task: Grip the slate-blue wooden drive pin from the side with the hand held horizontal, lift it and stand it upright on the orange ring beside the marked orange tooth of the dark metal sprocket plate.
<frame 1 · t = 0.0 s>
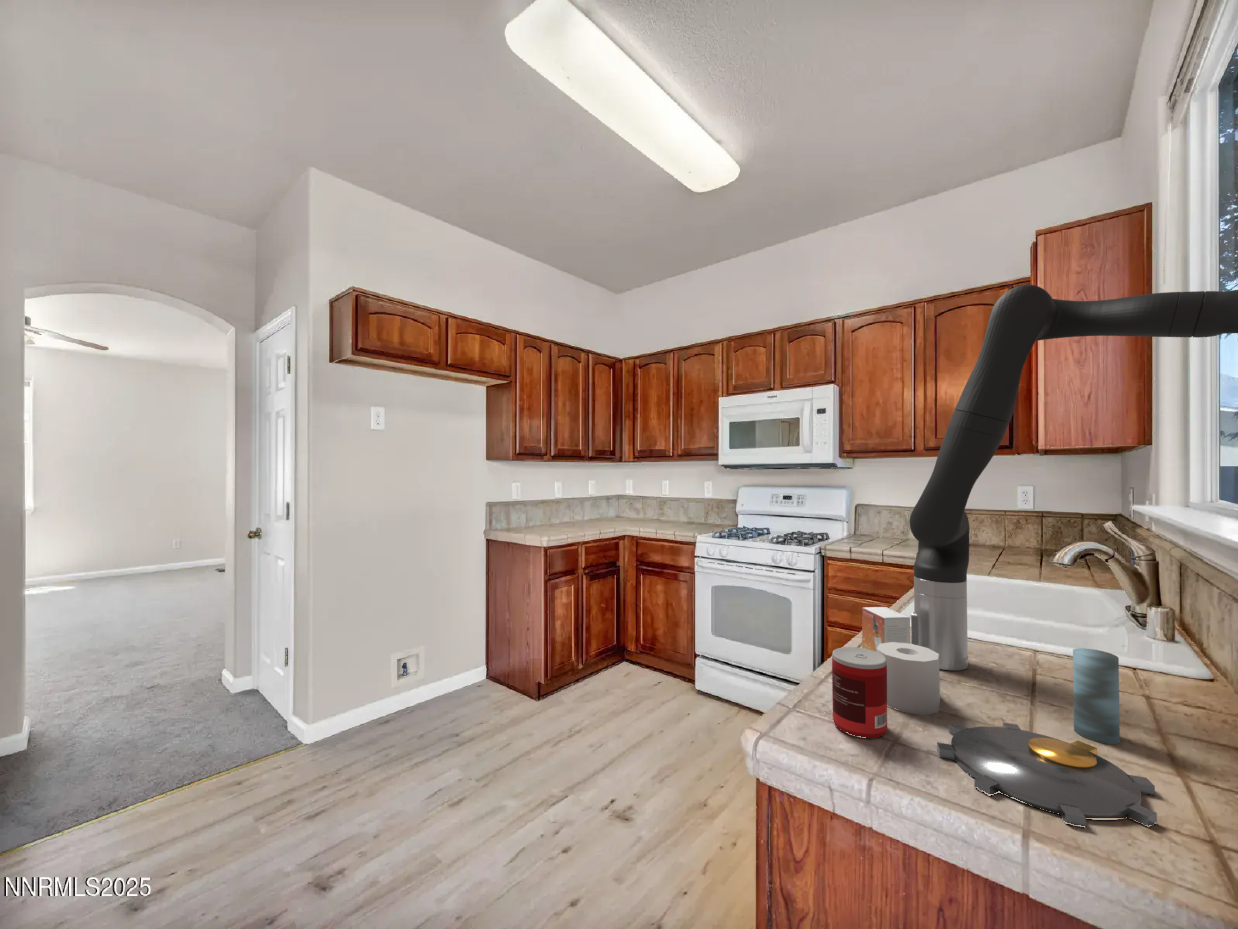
canned food: (859, 728, 79), on the counter
sprocket plate: (1037, 771, 67), on the counter
drive pin: (1096, 735, 77), on the counter
small box: (885, 664, 106), on the counter
toilet tissue: (912, 701, 89), on the counter
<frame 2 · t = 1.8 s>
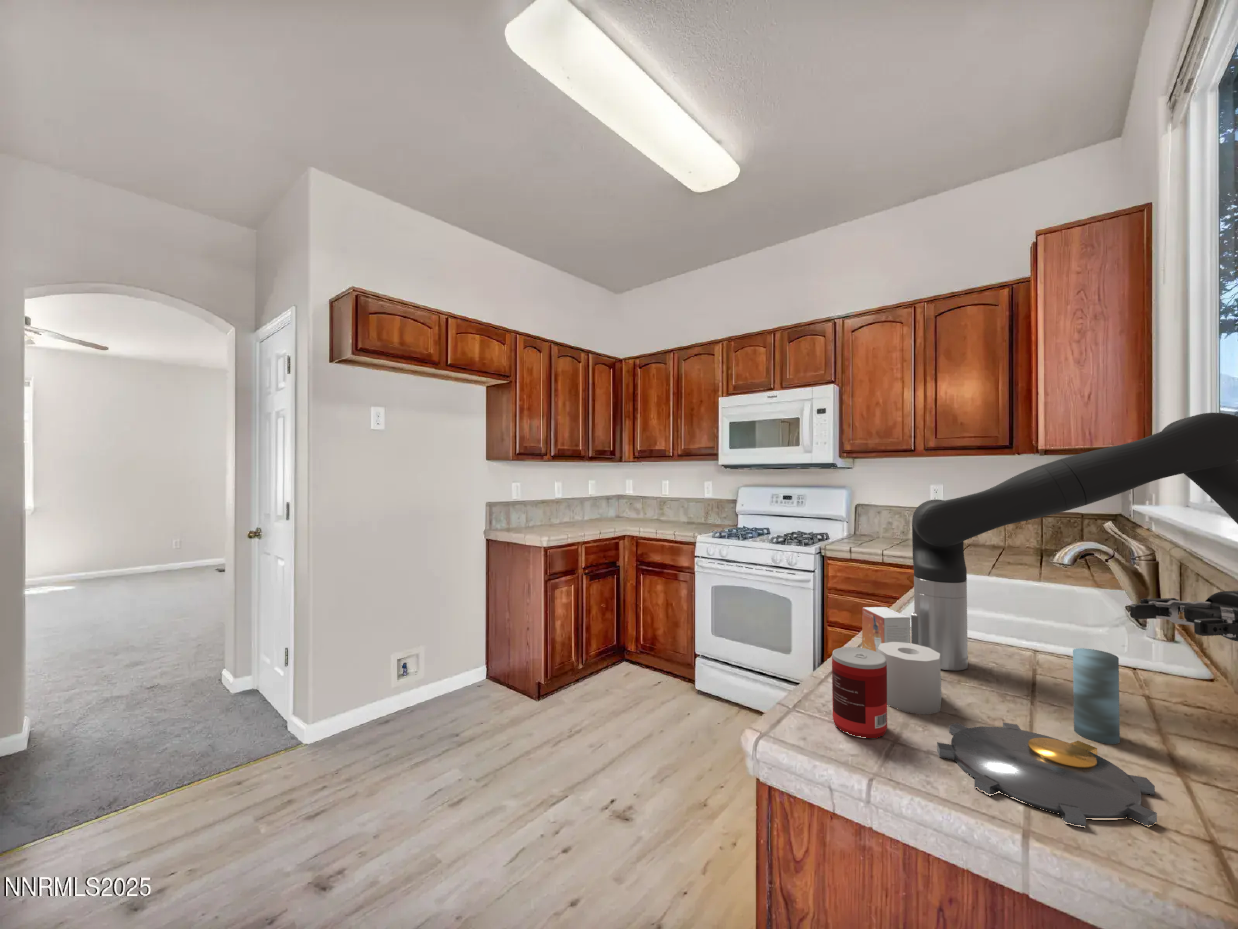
hand: (1163, 619, 78), 17 cm above the counter, tool horizontal, fingers open, 8 cm apart
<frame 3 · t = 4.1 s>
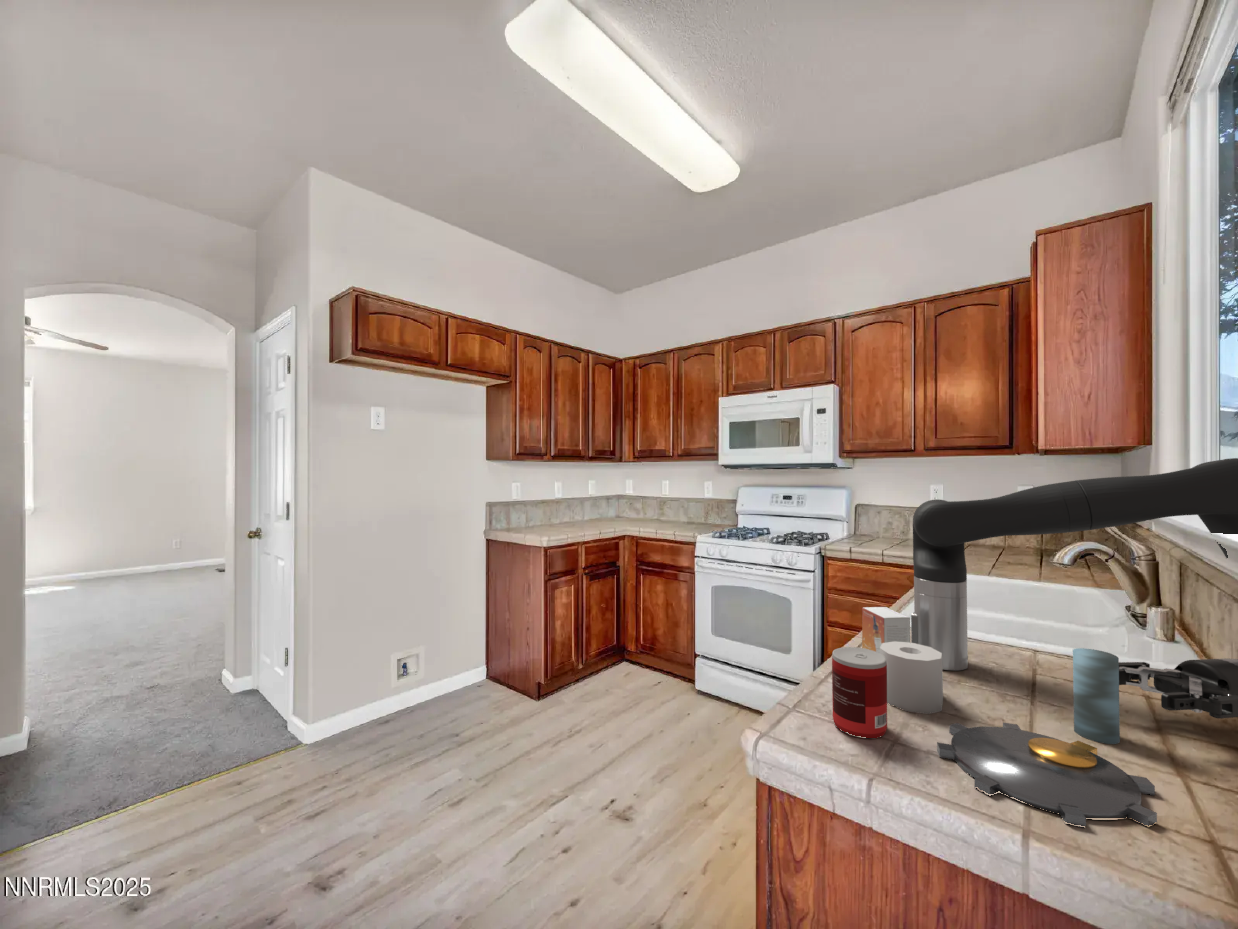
hand: (1131, 689, 77), 6 cm above the counter, tool horizontal, fingers open, 8 cm apart
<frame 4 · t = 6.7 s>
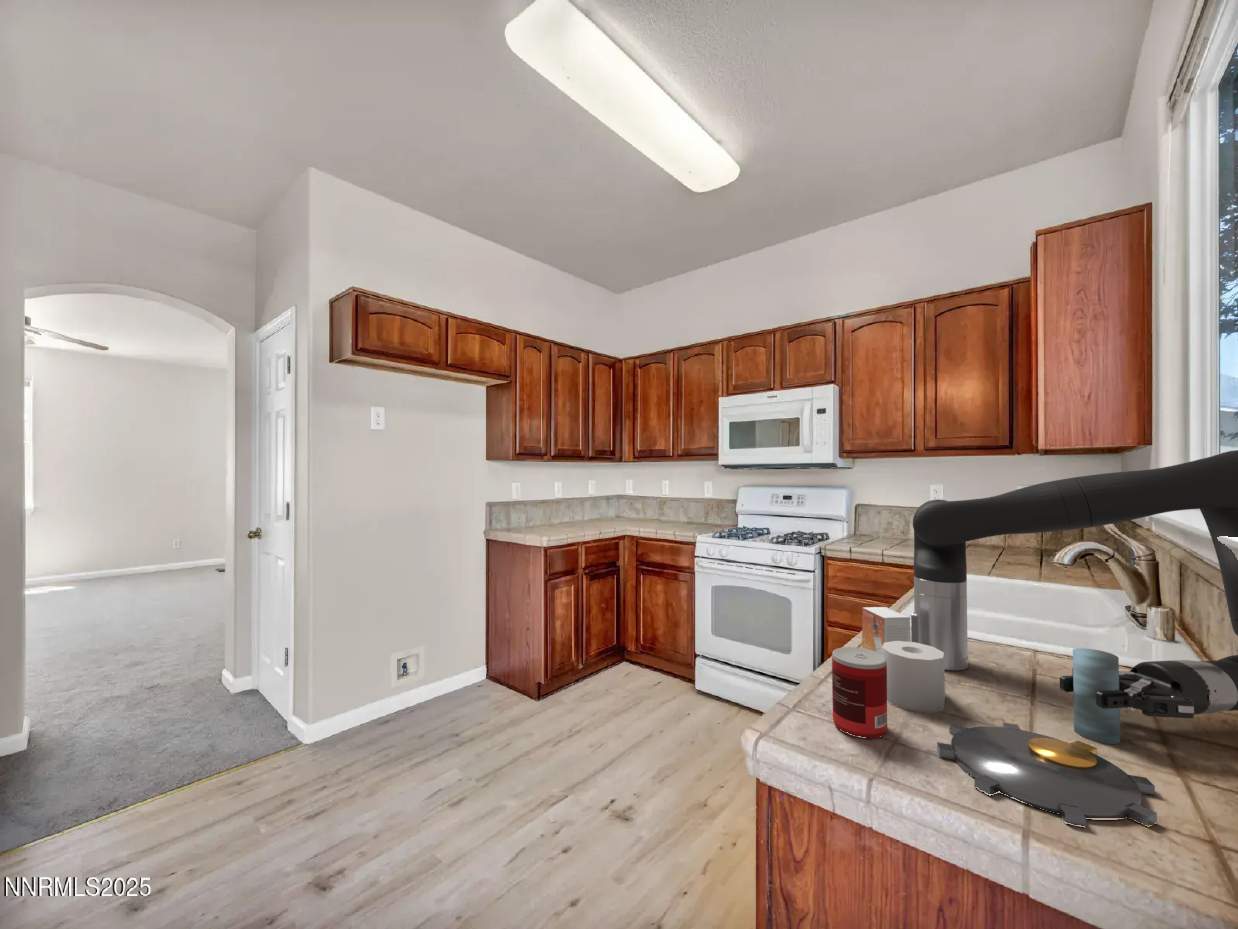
hand: (1080, 691, 76), 7 cm above the counter, tool horizontal, fingers closed on drive pin, 5 cm apart
drive pin: (1096, 735, 77), on the counter, touching gripper
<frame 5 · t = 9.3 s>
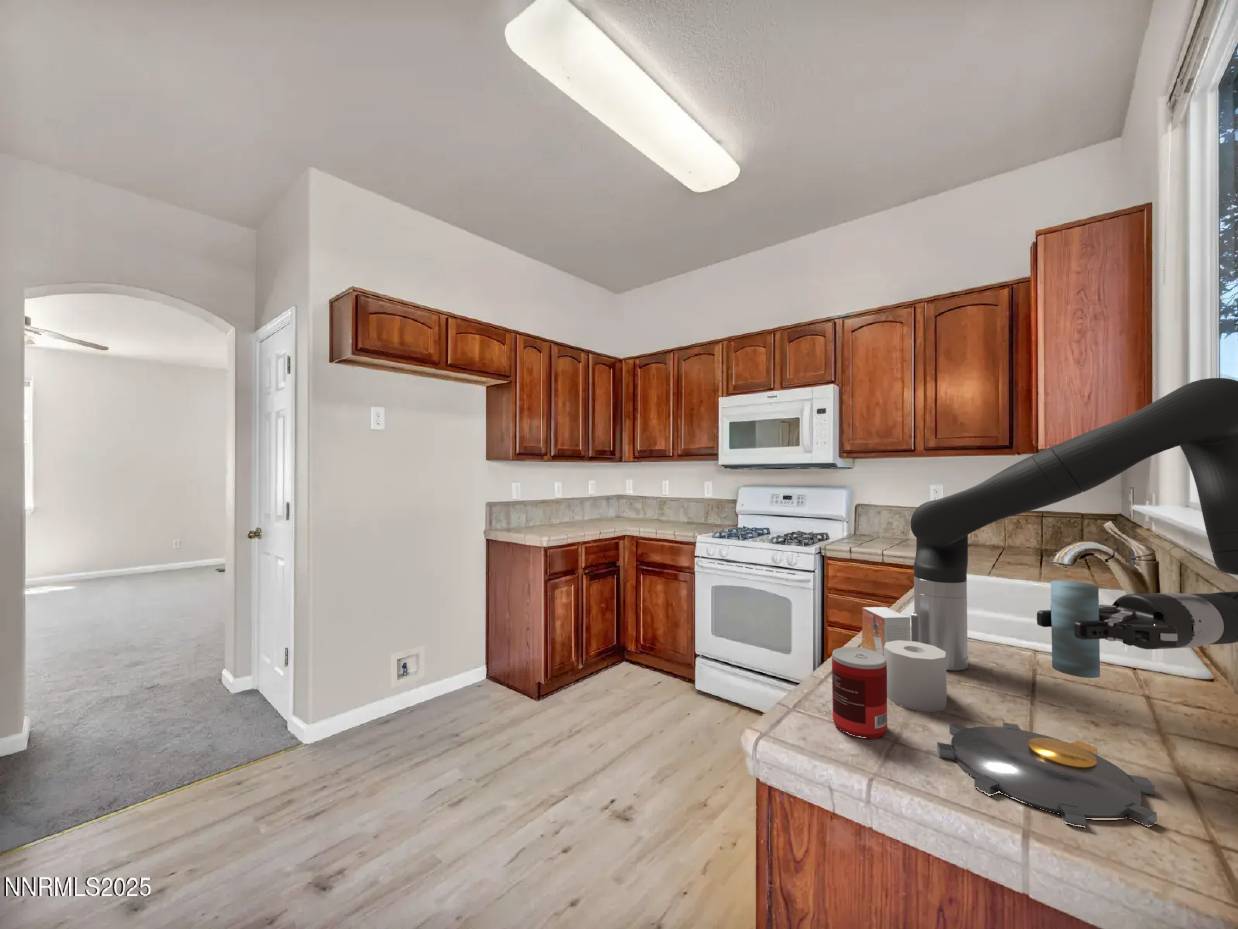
hand: (1058, 624, 72), 18 cm above the counter, tool horizontal, fingers closed on drive pin, 5 cm apart
drive pin: (1075, 670, 72), point 11 cm above the counter, touching gripper
when the fingers open (9 cm above the counter, at t = 12.3 s): drive pin drops 1 cm, resting on sprocket plate.
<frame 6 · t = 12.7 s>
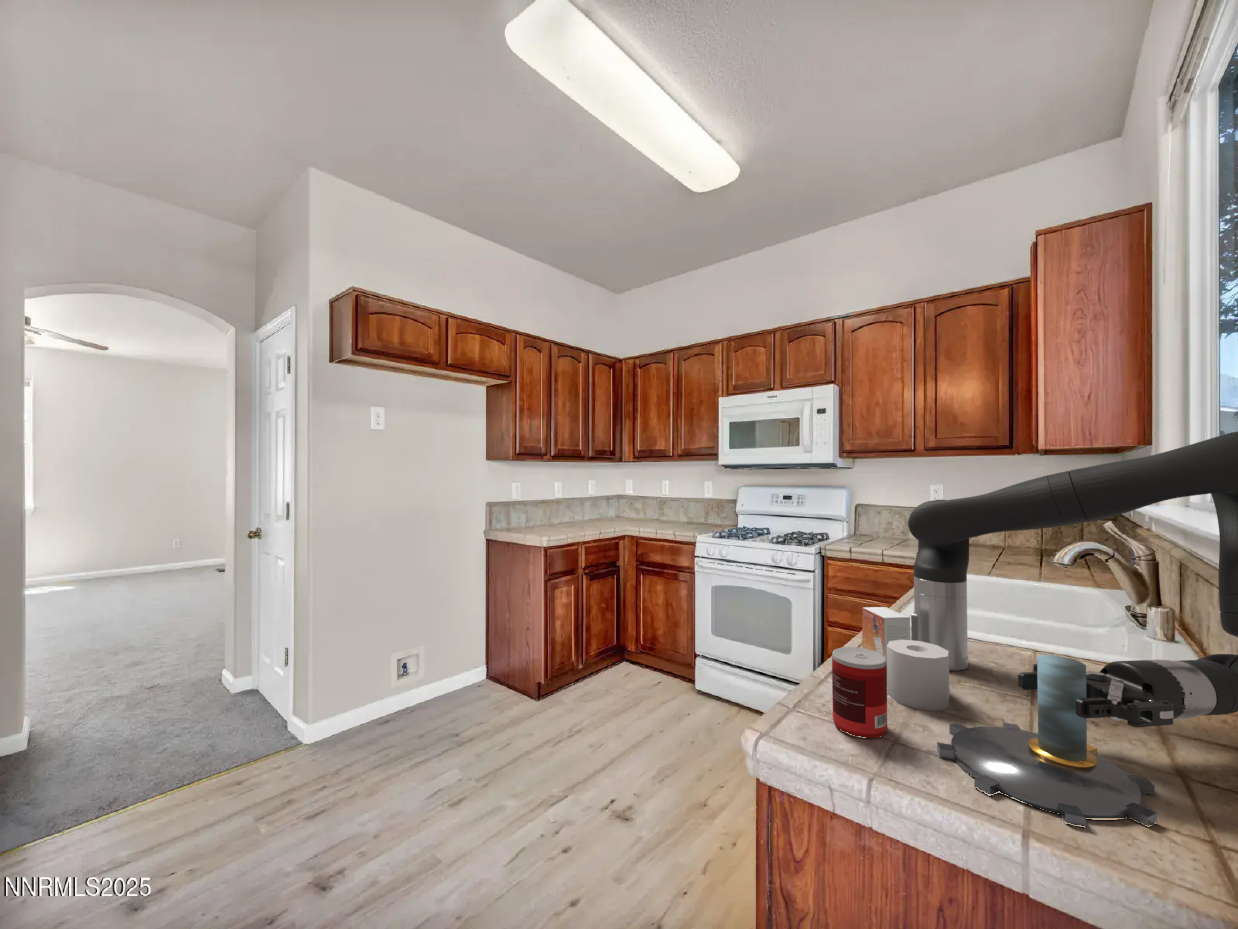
hand: (1047, 694, 69), 9 cm above the counter, tool horizontal, fingers open, 8 cm apart
drive pin: (1061, 751, 70), point 2 cm above the counter, touching sprocket plate
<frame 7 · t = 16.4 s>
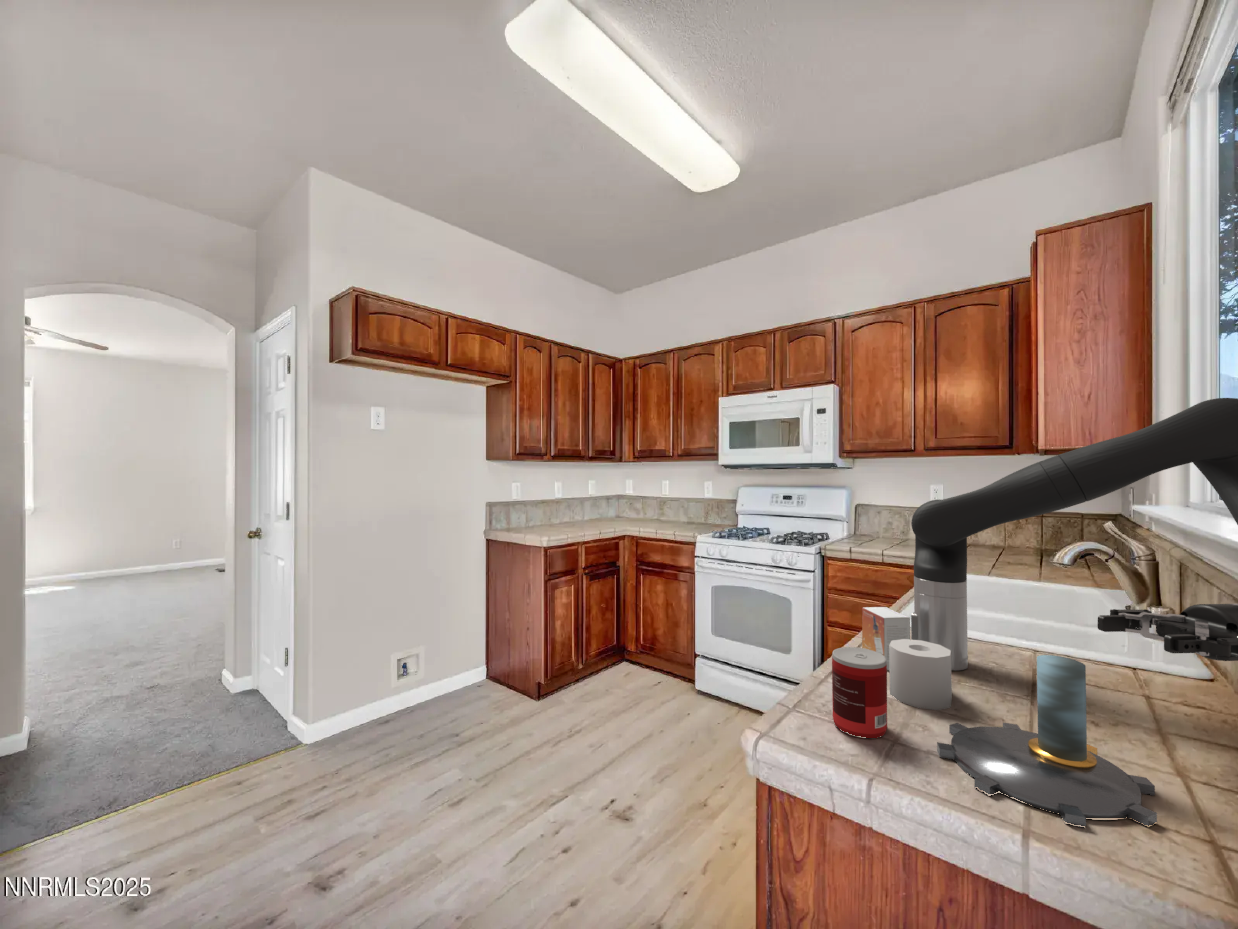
hand: (1131, 633, 71), 17 cm above the counter, tool horizontal, fingers open, 8 cm apart
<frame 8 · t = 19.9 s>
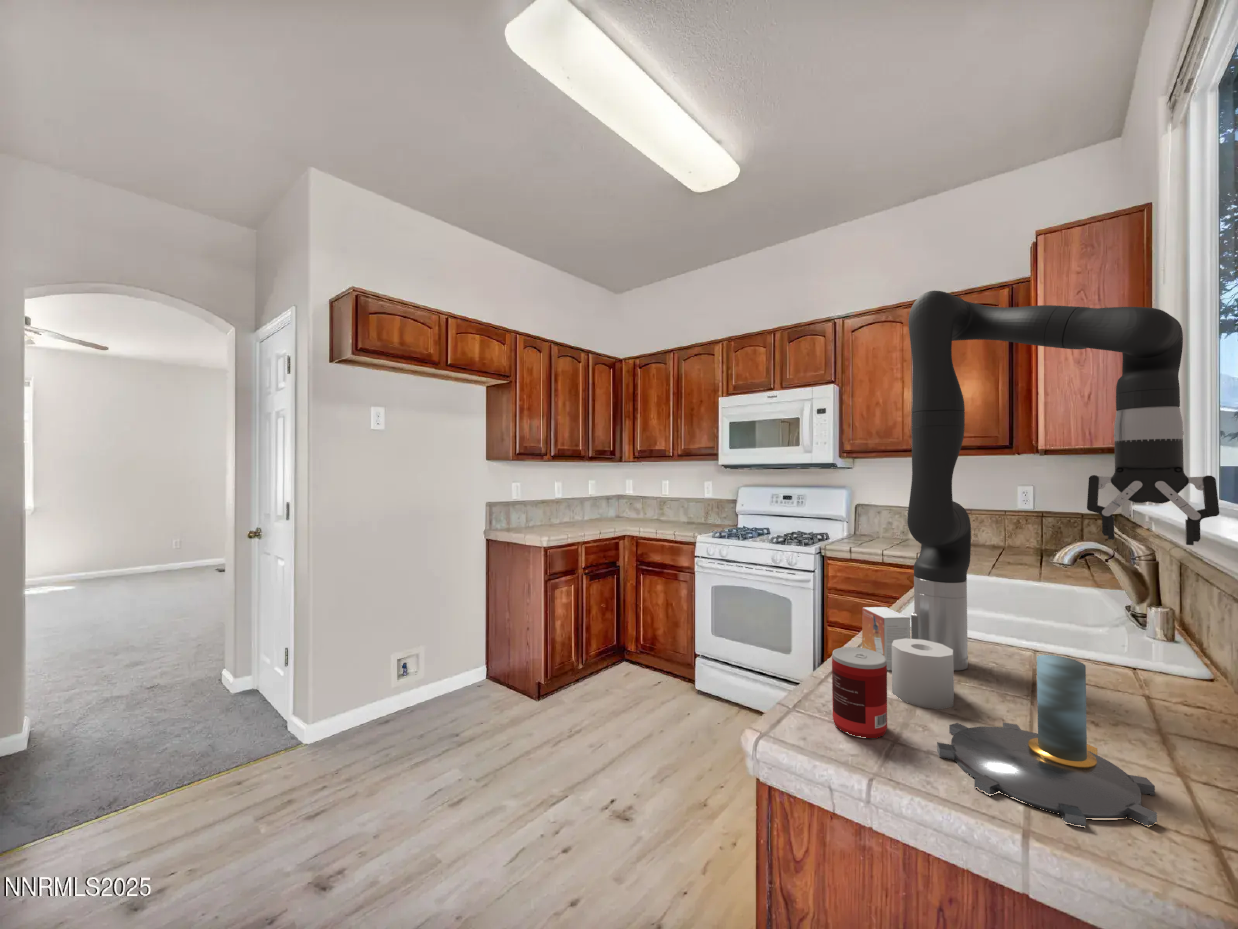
hand: (1149, 542, 81), 28 cm above the counter, tool pointing down, fingers open, 8 cm apart
at the end: drive pin 0.1 cm from the target spot on the sprocket plate, point 1.5 cm above the sprocket plate's base; drive pin tilted 0°; the gripper is holding nothing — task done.
